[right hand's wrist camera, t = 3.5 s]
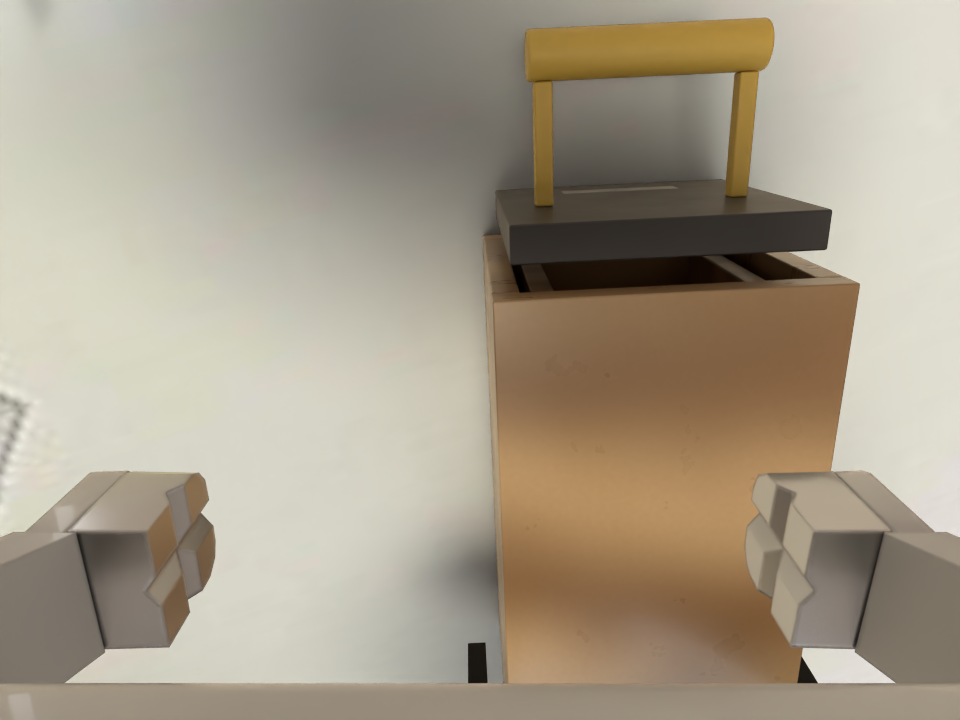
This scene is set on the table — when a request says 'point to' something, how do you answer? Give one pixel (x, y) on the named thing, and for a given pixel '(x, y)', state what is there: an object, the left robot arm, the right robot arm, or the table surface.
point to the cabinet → (652, 464)
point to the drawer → (649, 206)
